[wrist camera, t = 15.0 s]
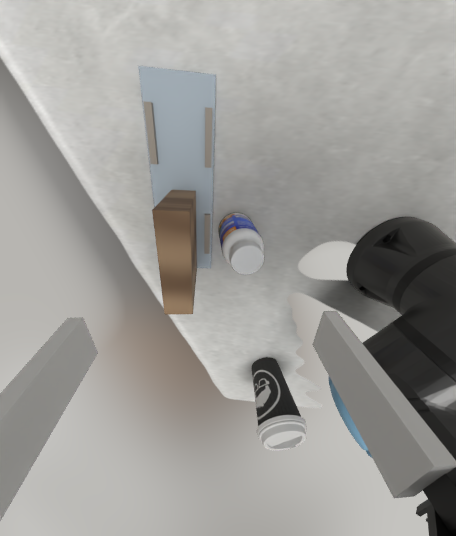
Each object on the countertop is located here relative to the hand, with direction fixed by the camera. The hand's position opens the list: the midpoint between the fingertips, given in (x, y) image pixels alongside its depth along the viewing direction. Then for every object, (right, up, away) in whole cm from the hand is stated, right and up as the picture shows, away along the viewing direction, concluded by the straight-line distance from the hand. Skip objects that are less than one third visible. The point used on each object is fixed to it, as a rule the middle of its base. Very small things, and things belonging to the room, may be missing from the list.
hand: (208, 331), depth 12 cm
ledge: (-5, +15, +17) cm, 23 cm away
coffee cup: (+10, -20, +38) cm, 45 cm away
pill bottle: (+2, +10, +20) cm, 23 cm away
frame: (-5, +9, +19) cm, 21 cm away
